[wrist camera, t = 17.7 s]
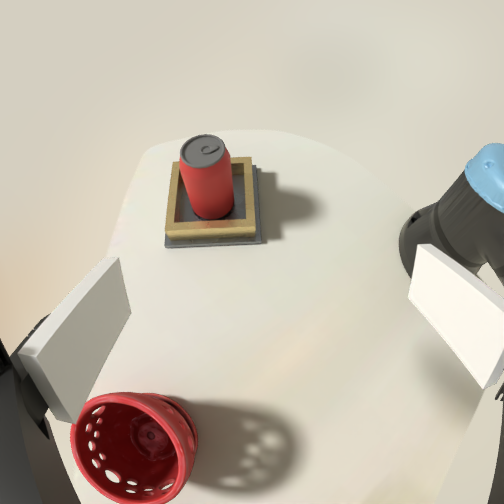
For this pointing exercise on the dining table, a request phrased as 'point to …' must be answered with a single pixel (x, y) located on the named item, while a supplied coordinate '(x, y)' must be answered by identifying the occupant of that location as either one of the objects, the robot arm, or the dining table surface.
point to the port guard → (224, 228)
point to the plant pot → (135, 446)
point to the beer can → (207, 176)
